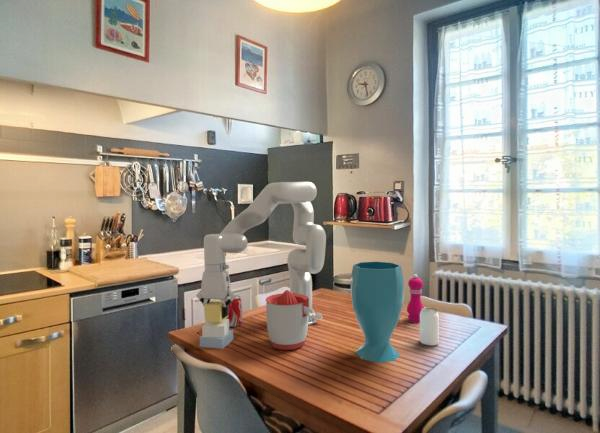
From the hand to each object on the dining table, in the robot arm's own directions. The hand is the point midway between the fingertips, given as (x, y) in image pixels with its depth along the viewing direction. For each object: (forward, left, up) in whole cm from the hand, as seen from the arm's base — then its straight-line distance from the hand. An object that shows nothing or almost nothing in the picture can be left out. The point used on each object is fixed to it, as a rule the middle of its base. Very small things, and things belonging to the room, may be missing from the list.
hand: (216, 316), depth 135 cm
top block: (0, 0, -7) cm, 7 cm away
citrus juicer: (-27, -4, -10) cm, 29 cm away
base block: (0, 0, -11) cm, 11 cm away
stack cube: (0, 0, -1) cm, 1 cm away
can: (-76, -16, -10) cm, 78 cm away
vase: (-58, -3, -10) cm, 59 cm away
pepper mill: (-73, -41, -10) cm, 84 cm away
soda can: (+2, -20, -10) cm, 23 cm away
